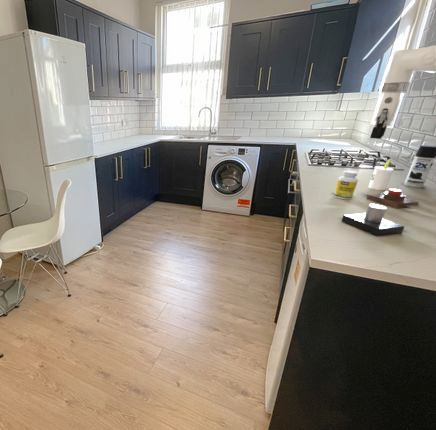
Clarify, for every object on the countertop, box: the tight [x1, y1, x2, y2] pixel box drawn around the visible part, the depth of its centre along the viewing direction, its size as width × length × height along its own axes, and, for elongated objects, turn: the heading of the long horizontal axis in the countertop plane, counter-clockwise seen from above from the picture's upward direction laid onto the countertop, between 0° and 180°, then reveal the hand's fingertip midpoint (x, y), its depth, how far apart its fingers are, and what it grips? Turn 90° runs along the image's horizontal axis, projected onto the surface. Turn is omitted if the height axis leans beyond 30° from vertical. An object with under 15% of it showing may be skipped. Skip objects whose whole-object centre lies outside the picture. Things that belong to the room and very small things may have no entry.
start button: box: [387, 188, 403, 196], centre depth 115 cm, size 4×4×2 cm
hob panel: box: [340, 212, 405, 237], centre depth 94 cm, size 12×10×3 cm
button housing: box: [366, 190, 420, 210], centre depth 116 cm, size 12×10×4 cm
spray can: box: [403, 144, 436, 188], centre depth 134 cm, size 7×7×20 cm
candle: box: [368, 158, 394, 191], centre depth 131 cm, size 6×6×15 cm
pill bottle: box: [333, 170, 359, 200], centre depth 121 cm, size 6×6×12 cm
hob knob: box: [364, 203, 388, 223], centre depth 93 cm, size 4×4×5 cm
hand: (376, 137), depth 108 cm, fingers open, 9 cm apart
